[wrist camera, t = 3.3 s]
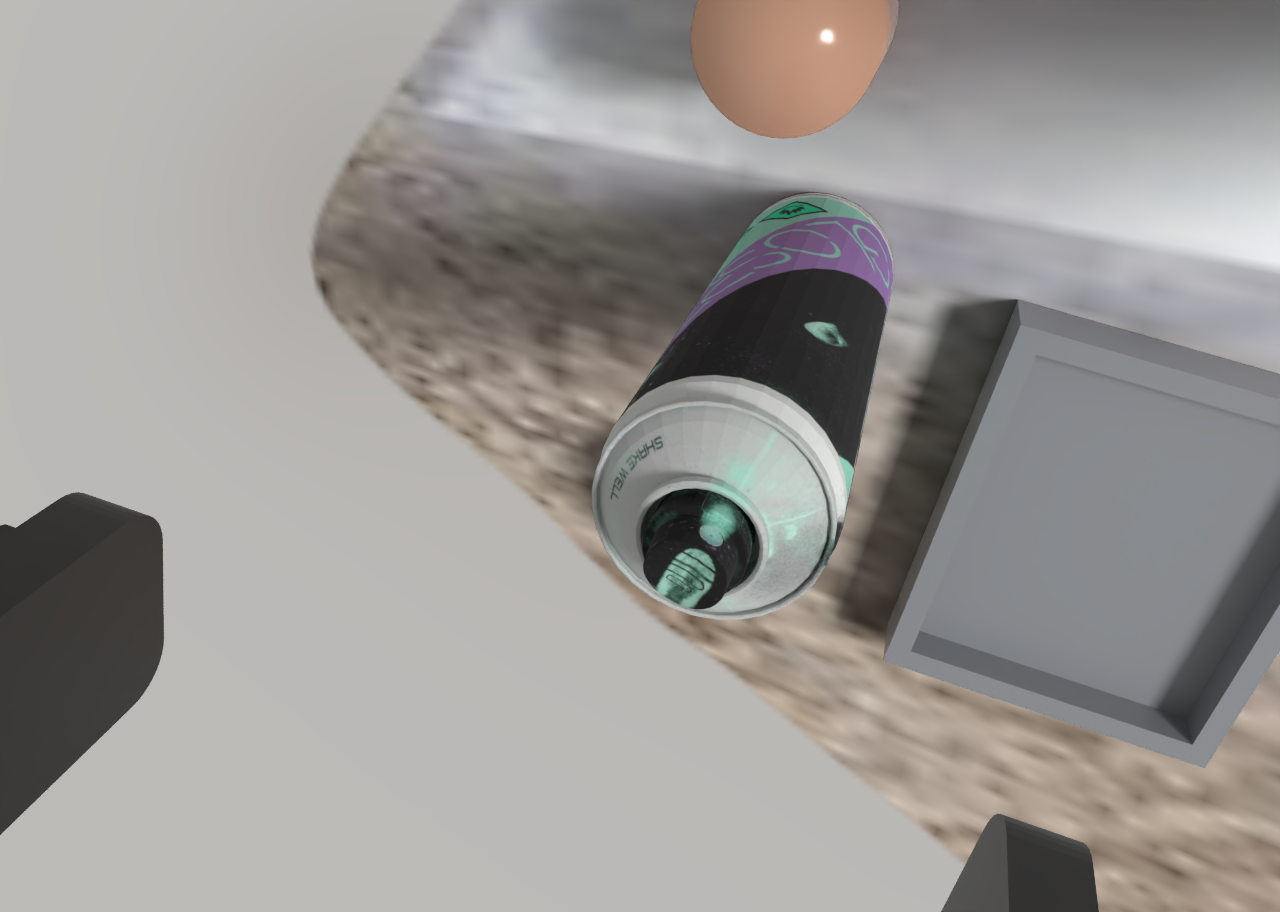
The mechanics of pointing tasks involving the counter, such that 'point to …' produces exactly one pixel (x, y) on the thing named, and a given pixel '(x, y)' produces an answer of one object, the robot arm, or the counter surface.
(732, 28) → the peach round cylinder
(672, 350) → the spray can
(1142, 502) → the tray
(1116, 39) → the counter surface
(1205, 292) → the counter surface
